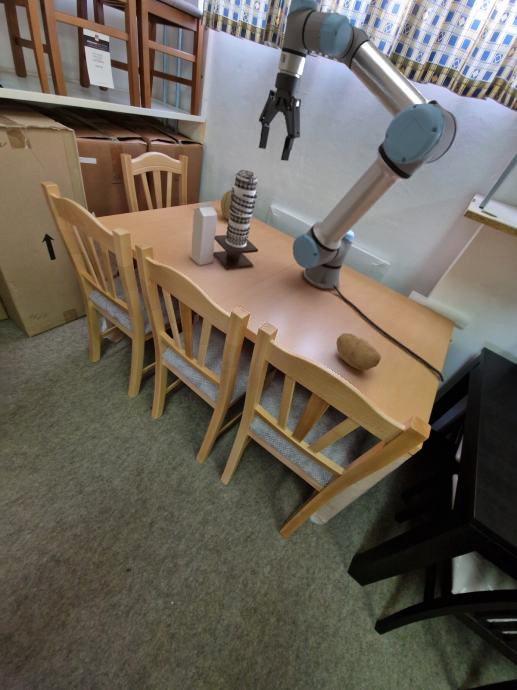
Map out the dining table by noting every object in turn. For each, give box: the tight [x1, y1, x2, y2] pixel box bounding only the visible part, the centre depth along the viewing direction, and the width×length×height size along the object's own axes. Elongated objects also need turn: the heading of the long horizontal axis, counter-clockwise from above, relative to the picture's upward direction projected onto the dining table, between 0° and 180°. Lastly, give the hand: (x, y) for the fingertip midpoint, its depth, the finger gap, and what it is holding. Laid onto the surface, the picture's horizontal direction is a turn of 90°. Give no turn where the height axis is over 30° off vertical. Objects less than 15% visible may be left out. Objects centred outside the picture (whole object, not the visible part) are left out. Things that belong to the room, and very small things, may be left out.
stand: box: [213, 234, 259, 271], centre depth 118 cm, size 13×13×8 cm
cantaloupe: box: [220, 186, 234, 221], centre depth 146 cm, size 15×15×15 cm
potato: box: [336, 332, 382, 372], centre depth 89 cm, size 10×14×8 cm
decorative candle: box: [225, 169, 259, 248], centre depth 107 cm, size 9×9×25 cm
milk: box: [190, 201, 218, 266], centre depth 108 cm, size 6×6×22 cm
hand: (272, 154), depth 104 cm, fingers open, 13 cm apart
